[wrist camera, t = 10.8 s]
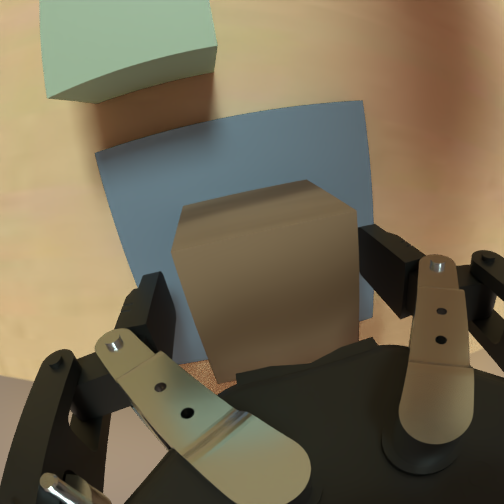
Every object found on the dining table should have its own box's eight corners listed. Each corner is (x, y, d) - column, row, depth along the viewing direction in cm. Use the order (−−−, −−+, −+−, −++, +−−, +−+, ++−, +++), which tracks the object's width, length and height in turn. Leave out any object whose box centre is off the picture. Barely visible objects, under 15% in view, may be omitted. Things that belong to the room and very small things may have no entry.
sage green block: (84, 7, 9) (40, -30, 5) (195, -25, 10) (193, -80, 5) (97, 103, 12) (47, 98, 7) (213, 72, 12) (217, 45, 7)
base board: (102, 150, 12) (94, 153, 11) (353, 101, 13) (362, 100, 12) (172, 354, 17) (171, 365, 16) (365, 308, 18) (372, 317, 17)
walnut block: (182, 205, 13) (170, 252, 8) (306, 179, 13) (356, 210, 9) (212, 310, 15) (218, 383, 11) (318, 285, 16) (358, 347, 11)
